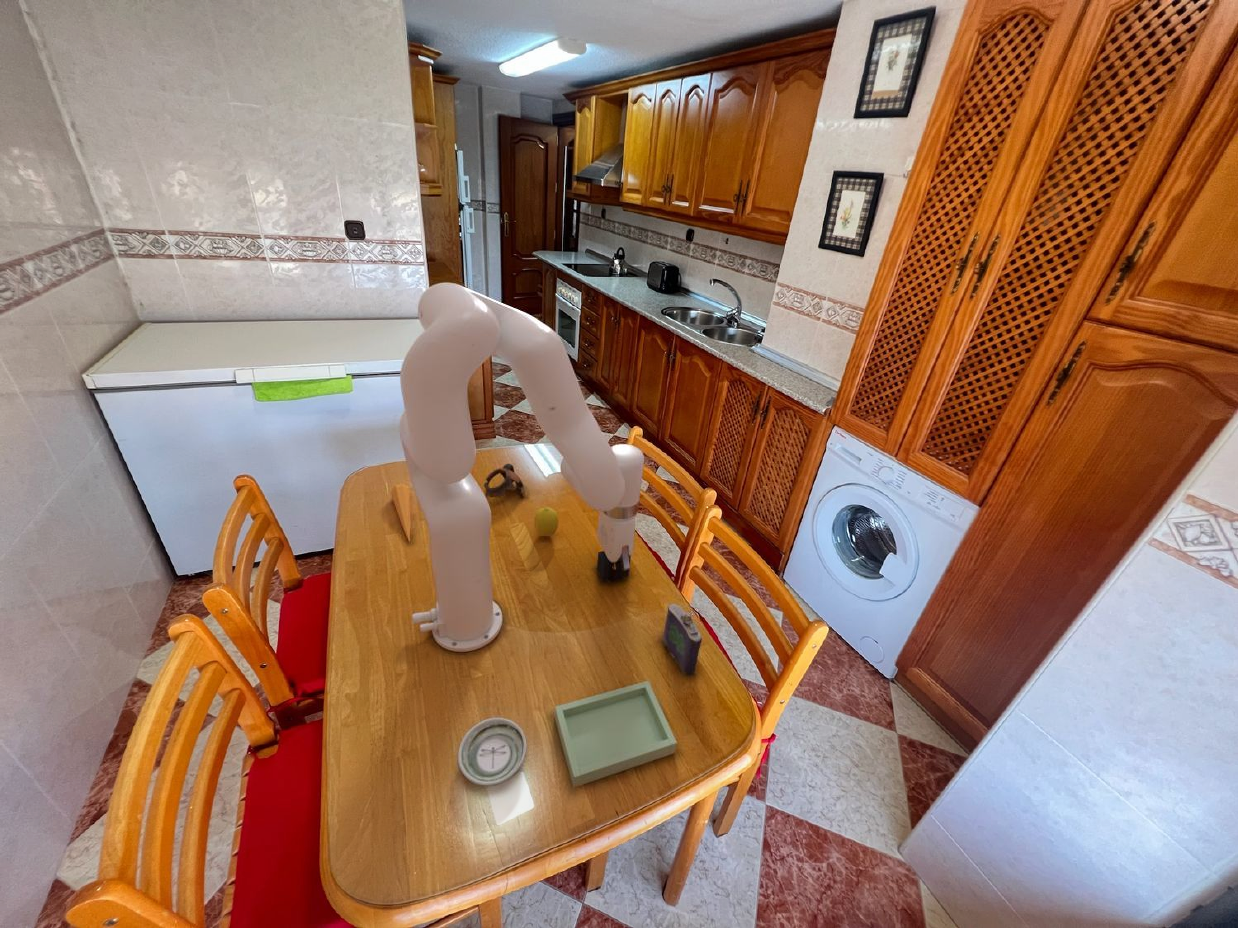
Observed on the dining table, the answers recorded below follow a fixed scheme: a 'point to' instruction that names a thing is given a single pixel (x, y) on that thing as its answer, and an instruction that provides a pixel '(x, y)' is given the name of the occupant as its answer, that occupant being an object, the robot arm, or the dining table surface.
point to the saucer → (492, 751)
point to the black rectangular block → (606, 566)
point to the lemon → (546, 521)
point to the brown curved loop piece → (507, 484)
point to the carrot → (402, 506)
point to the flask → (682, 638)
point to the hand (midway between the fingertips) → (612, 571)
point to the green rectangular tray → (613, 732)
